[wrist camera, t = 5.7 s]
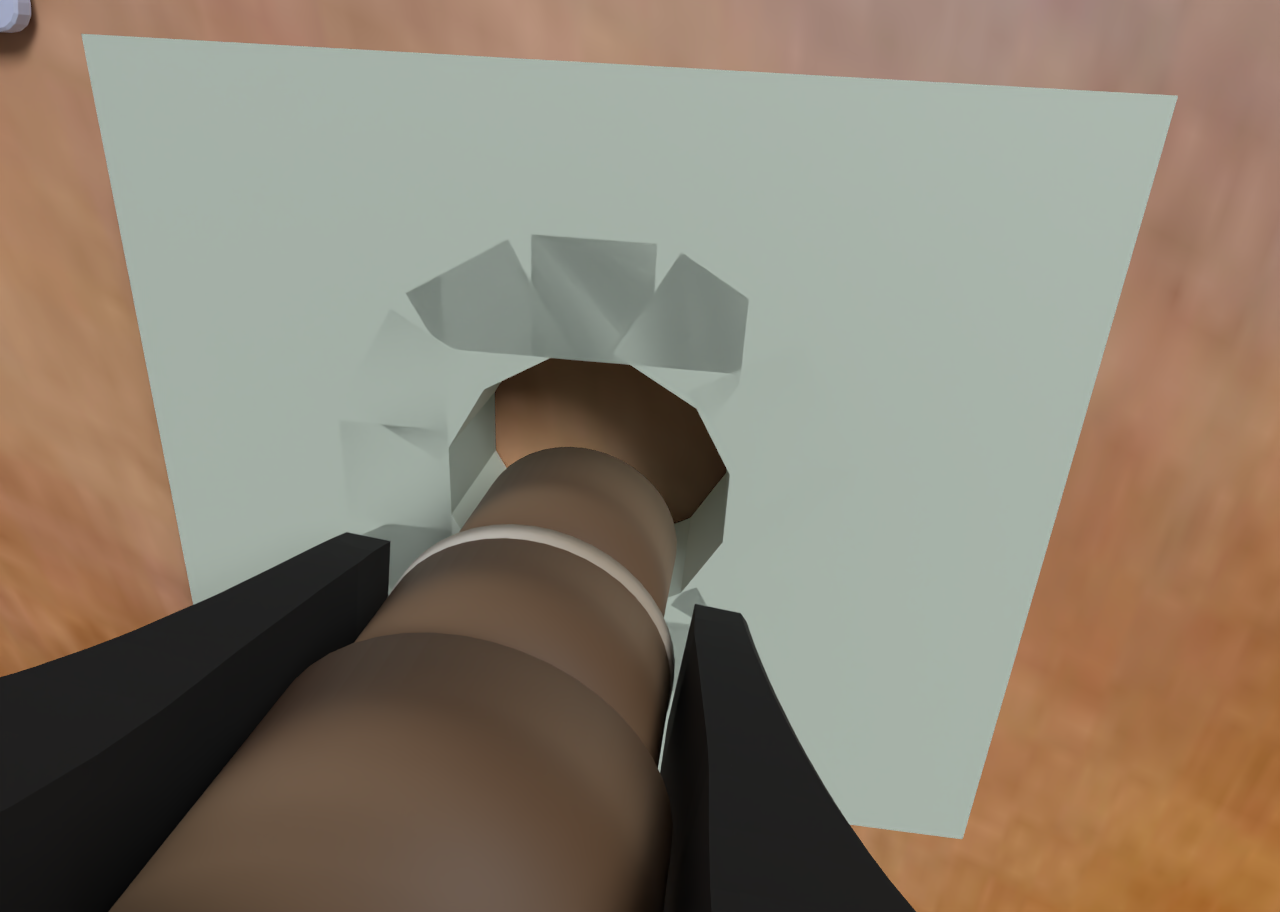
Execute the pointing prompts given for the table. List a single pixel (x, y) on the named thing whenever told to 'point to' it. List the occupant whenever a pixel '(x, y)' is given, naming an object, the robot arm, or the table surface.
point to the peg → (466, 728)
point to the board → (647, 336)
